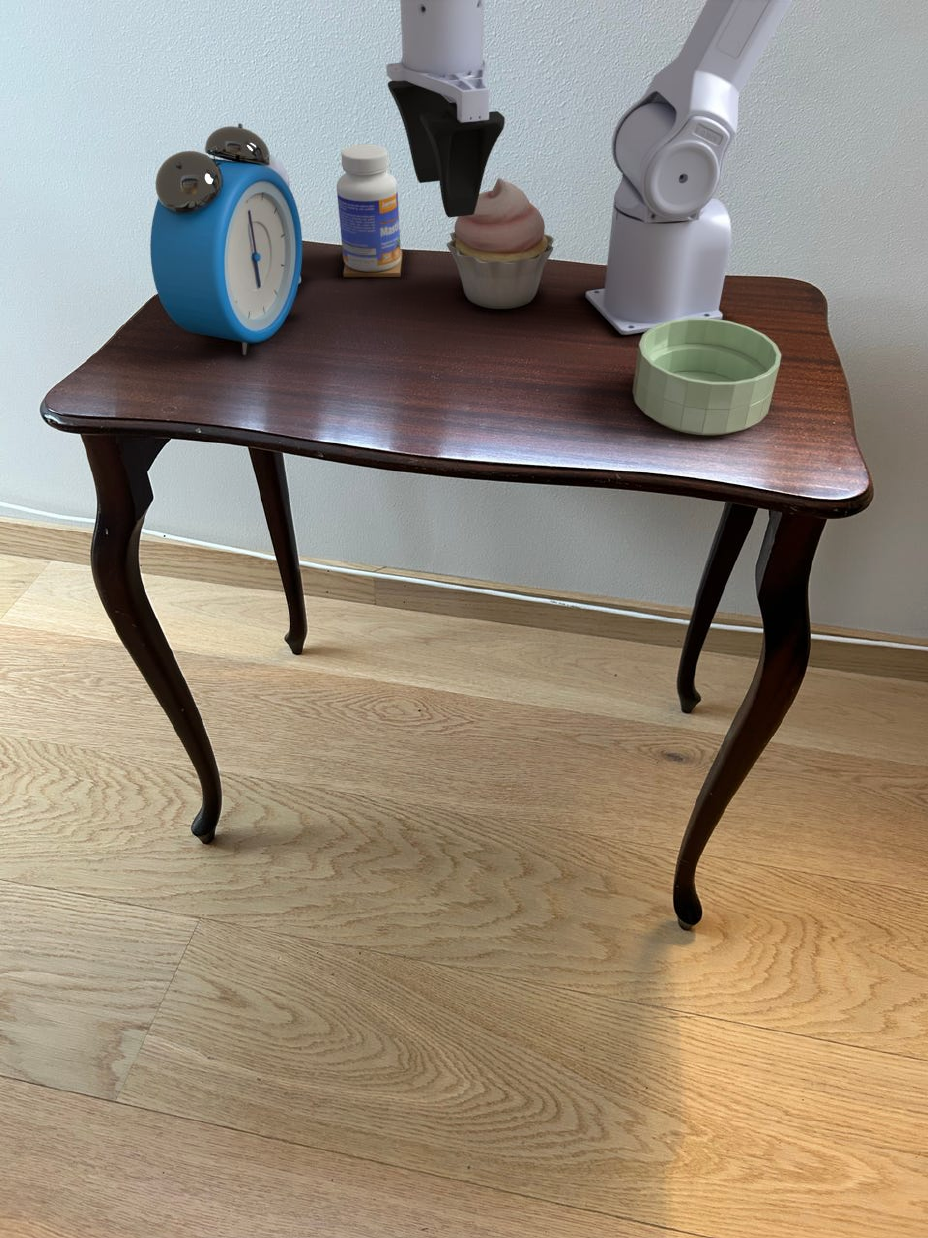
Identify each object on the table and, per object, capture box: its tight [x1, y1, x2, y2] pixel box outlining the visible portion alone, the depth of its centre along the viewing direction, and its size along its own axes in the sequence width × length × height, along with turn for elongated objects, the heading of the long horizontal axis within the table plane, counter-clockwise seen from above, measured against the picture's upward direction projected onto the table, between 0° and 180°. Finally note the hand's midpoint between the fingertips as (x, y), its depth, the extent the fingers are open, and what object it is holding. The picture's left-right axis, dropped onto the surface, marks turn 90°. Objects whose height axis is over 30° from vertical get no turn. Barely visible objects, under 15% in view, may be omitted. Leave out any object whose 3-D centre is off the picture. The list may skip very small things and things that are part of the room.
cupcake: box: [446, 177, 555, 310], centre depth 81 cm, size 9×9×10 cm
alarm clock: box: [149, 123, 303, 356], centre depth 75 cm, size 13×6×15 cm, turn 159°
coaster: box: [342, 249, 403, 278], centre depth 90 cm, size 5×5×1 cm
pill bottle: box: [336, 143, 402, 272], centre depth 86 cm, size 5×5×10 cm
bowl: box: [632, 318, 782, 436], centre depth 70 cm, size 10×10×4 cm
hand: (444, 196), depth 74 cm, fingers open, 7 cm apart
